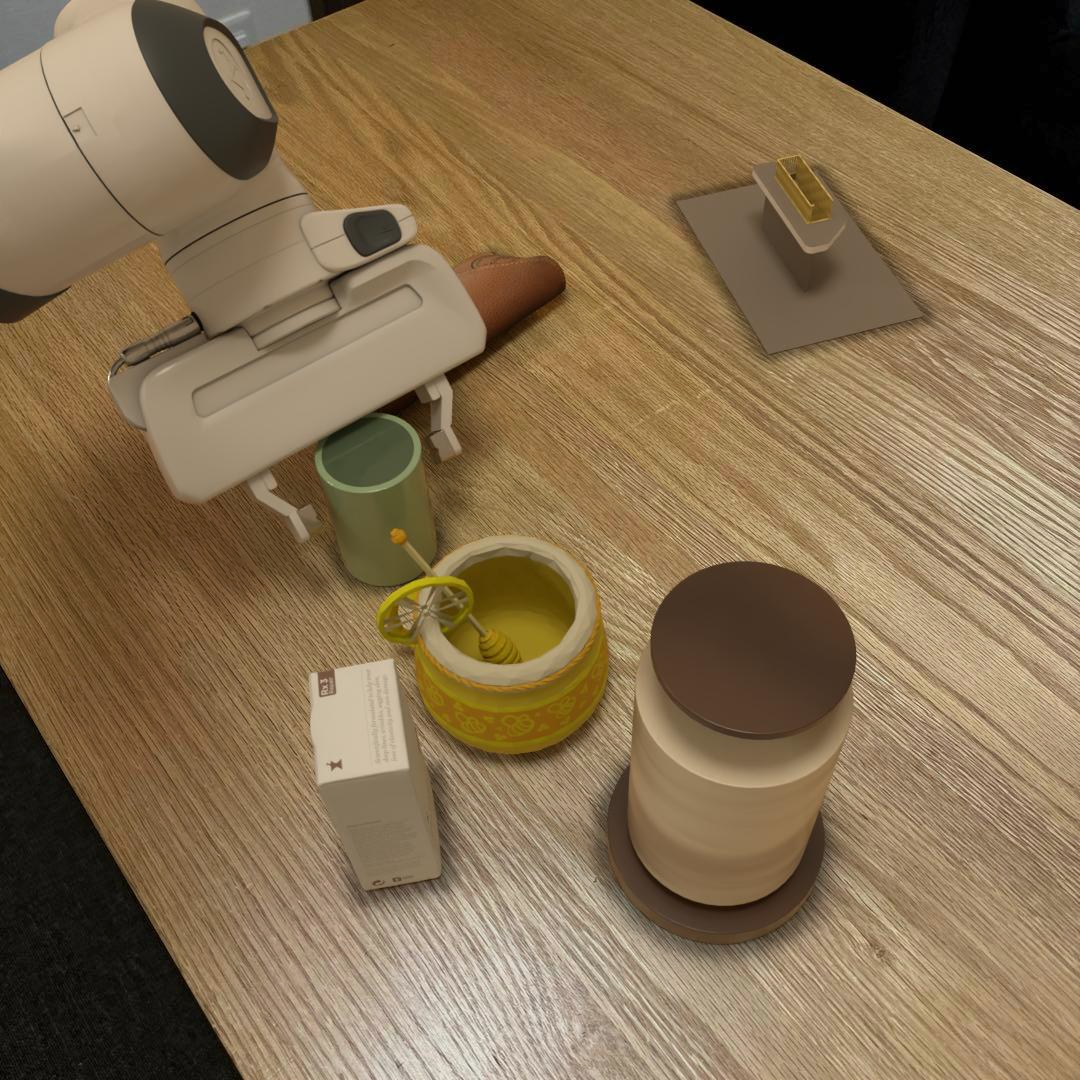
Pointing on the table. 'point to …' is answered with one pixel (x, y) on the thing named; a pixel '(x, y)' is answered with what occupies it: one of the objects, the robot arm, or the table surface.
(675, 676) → the holder
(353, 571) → the cup
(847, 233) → the platform
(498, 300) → the sunglasses case
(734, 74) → the table surface
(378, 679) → the cosmetic box
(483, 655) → the honey pot with dipper
